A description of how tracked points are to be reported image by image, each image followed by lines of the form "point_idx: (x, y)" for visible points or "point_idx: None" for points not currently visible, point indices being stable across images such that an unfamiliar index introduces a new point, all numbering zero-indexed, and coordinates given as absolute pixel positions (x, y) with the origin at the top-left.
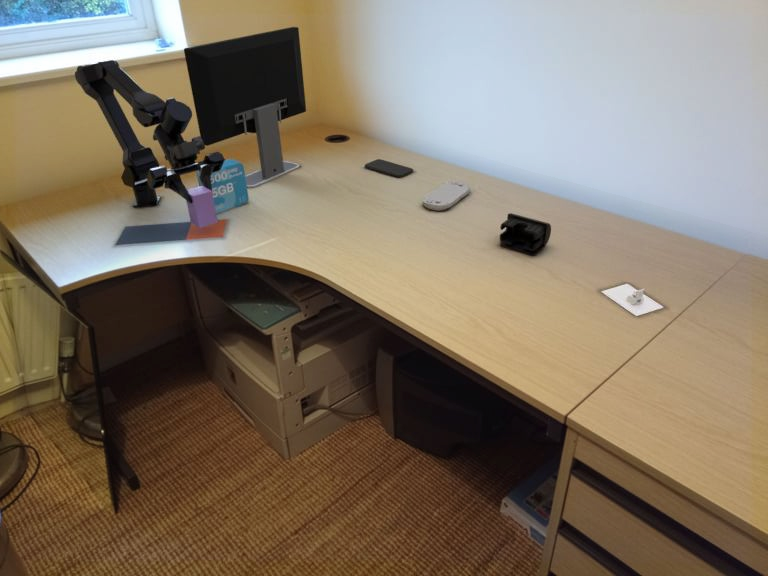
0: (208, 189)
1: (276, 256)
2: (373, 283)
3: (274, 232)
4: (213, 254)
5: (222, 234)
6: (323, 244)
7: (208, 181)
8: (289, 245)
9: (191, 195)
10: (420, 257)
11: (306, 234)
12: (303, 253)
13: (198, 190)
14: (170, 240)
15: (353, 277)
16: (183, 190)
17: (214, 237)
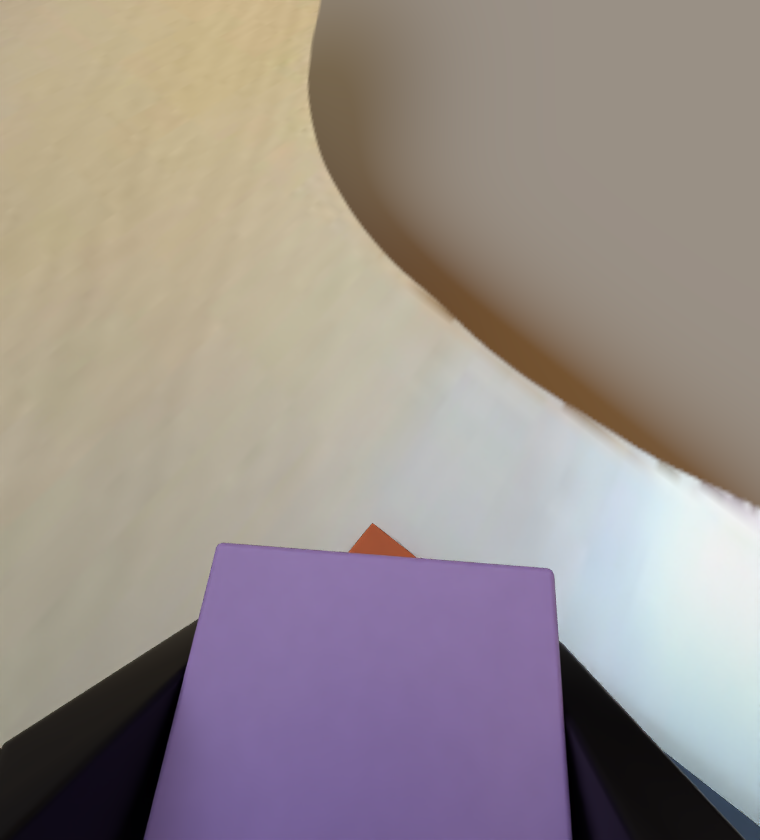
0: (204, 646)
1: (319, 214)
2: (259, 6)
3: (150, 379)
4: (517, 392)
5: None
6: (141, 185)
7: (25, 771)
8: (218, 247)
9: (555, 637)
10: (79, 23)
11: (97, 274)
12: (238, 179)
13: (344, 766)
14: (706, 793)
15: (266, 36)
16: (713, 827)
17: (412, 557)
